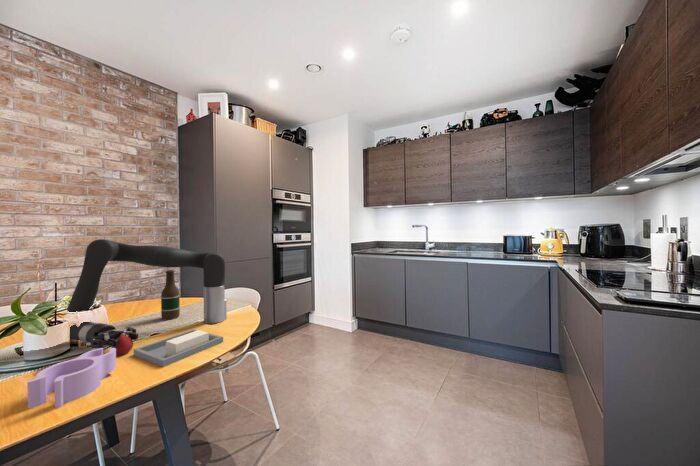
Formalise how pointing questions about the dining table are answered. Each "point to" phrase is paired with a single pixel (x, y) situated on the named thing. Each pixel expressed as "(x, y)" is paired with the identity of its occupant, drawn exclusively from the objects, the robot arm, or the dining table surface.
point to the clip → (71, 378)
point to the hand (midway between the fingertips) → (127, 340)
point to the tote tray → (158, 354)
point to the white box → (186, 342)
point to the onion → (123, 345)
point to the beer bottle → (170, 298)
